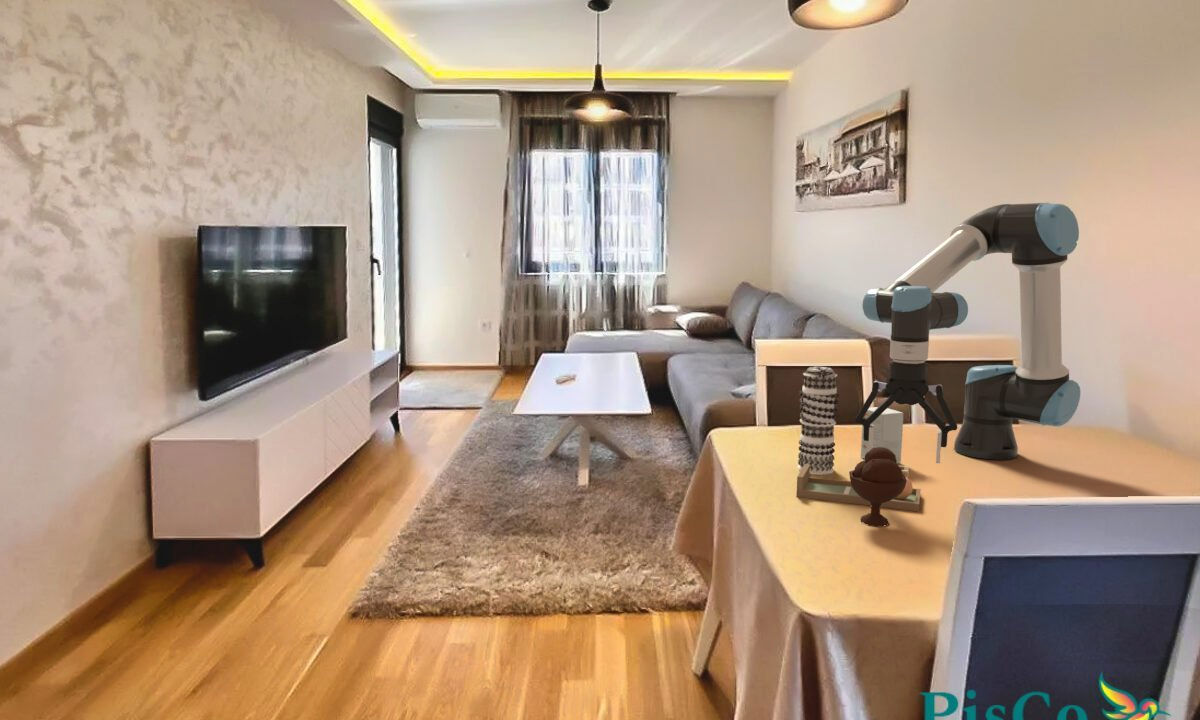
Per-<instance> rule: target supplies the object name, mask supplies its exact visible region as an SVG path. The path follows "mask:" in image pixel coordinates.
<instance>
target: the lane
mask: <svg viewBox="0 0 1200 720" xmlns="http://www.w3.org/2000/svg"><path fill="white" fill-rule="evenodd" d="M796 479H797V480H796V494H795V495H796V497H798V498H799V497H800V498H806V499H814V500H823V501H831V502H839V503H846V504H853V505H854V504H855V505H856V504H857V505H862V506H863V505H865V506H870V507H871V503H870V502H869V501H867V500H865V499H863V498H862V497H860V496H859V495H858V494H857V493H856V492H855V491H854V490H853V487H852V485H851V481H850V480H839V479H832V478H823V477H815V476H810V464H804V466H803V468H802V469H801V471H799V473H798V474H797V478H796ZM920 498H921V489H920V488H914V487H913V489H912V493H911V494H910V496H909V497H907V498H905V499H897V498H894V499H892V500H890V501H888V502H885V503H882V504H881V506H880V508H881V507H882V508H887V509H889V508H890V509H896V510H904V511H911V512H912V511H913V512H920V500H921V499H920Z"/></svg>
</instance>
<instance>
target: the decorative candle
mask: <svg viewBox="0 0 1200 720" xmlns="http://www.w3.org/2000/svg"><path fill="white" fill-rule="evenodd" d="M802 375H803V385H802V389H800V390H799V392H798V393H799V396H801V397H800V399H799V403H800V405H799V410H800V411H801V412H800V413H799V418H800V419H799V422H800V424H801V426H800V427H801V428H800V429H801V430H800V431H801V433H800V436H799V438H800V439H799V440H798V444H799V447H798V450H799V453H798V454H797V455H798V460H797V464H798V466H797V469H798V471H799V472H800V471H801V469H802V468H803V466H804V464H810V474H811V475H816V476H817V475H818V476H819V475H822V476H823V474H824V475H829V474H833V472H834V468H833V467H834V466H835V463H834V460H835V455H833V454H834V453H835V452H836V451H835V448H834V447H835V446H836V443H835V434H834V432H835V426H836V424H837V421H835V419H837V418H838V416H837V415H836V414H835V413H837V412H838V408H836V407H835V406H836V405H838V404H839V400H837V398H839V397H840V394H838V393H837V390H838V389H837V386H836V385H837V377H838V374H836V373H835V371H834V369H832V368H831V367H829V366H828V367H827V366H819V365H818V366H809V367H807V369H806V370H805V372H803V373H802Z"/></svg>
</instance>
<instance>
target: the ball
mask: <svg viewBox="0 0 1200 720" xmlns="http://www.w3.org/2000/svg"><path fill="white" fill-rule="evenodd" d="M905 478H906V477H905ZM906 480H907V482H906V485H905V488H904V490H903V491H902V493H901V494H900V495H898V496H897V497H896V498H897V499H905V498H907V497H909V496H910V494H911V493H912V489H913V488H914V487H913V483H912V481H911V480H910V479H909V477H908V478H906Z"/></svg>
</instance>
